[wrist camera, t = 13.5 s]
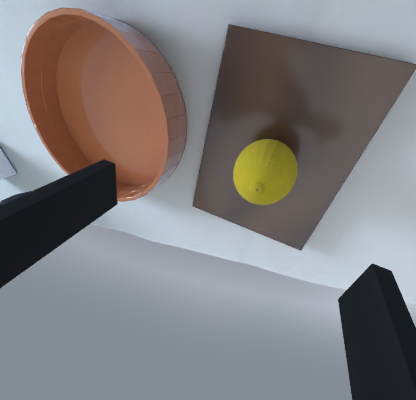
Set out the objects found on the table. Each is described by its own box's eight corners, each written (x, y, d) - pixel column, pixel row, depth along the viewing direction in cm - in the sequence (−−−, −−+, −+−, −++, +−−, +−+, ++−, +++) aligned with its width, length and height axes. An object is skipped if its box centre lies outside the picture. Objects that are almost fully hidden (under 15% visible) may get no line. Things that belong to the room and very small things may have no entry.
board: (196, 201, 32) (192, 206, 30) (233, 26, 20) (228, 24, 19) (301, 243, 28) (301, 250, 27) (410, 65, 17) (418, 64, 16)
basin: (68, 162, 38) (42, 171, 34) (40, 1, 26) (-3, -11, 22) (176, 207, 34) (160, 223, 30) (201, 39, 22) (179, 32, 18)
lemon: (293, 185, 24) (288, 227, 17) (243, 177, 26) (221, 213, 19) (304, 132, 21) (302, 159, 15) (247, 128, 23) (222, 150, 16)
